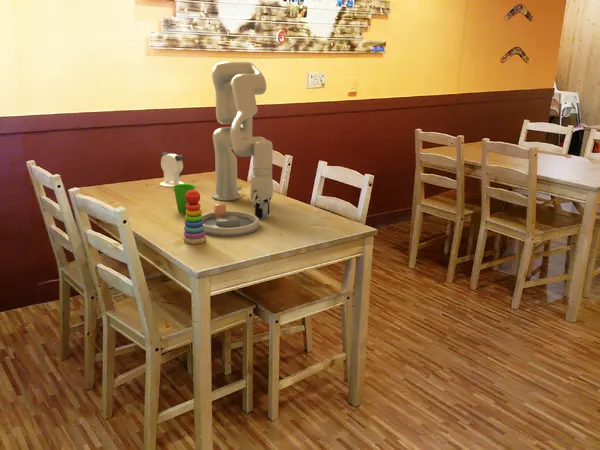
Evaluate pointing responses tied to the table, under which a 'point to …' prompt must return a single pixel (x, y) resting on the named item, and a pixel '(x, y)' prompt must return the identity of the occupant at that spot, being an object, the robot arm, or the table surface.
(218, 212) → the salmon orange block
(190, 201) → the stacking toy
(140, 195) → the table surface
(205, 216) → the groove tray
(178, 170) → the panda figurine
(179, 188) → the cup
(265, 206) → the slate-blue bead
